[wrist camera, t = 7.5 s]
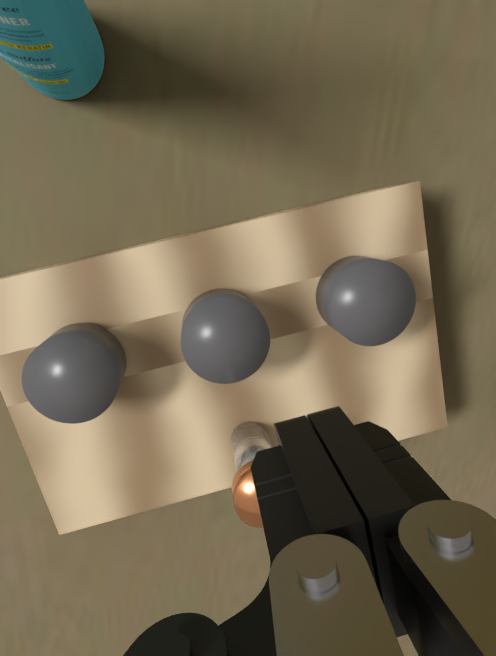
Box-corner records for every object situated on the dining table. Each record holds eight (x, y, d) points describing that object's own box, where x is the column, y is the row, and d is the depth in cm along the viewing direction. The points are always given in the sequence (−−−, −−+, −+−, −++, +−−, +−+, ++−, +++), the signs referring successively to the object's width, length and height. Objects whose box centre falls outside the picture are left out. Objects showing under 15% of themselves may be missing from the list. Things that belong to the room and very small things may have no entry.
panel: (389, 185, 29) (419, 180, 25) (417, 402, 33) (447, 427, 29) (-8, 279, 27) (-41, 289, 23) (75, 496, 31) (59, 534, 27)
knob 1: (122, 301, 28) (101, 326, 21) (142, 367, 29) (129, 410, 22) (50, 319, 28) (7, 350, 21) (74, 384, 29) (40, 433, 22)
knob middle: (243, 272, 28) (259, 287, 22) (258, 338, 30) (278, 371, 23) (174, 288, 28) (170, 309, 22) (192, 354, 29) (193, 393, 23)
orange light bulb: (268, 409, 27) (291, 463, 21) (279, 453, 28) (303, 517, 22) (218, 422, 27) (227, 481, 21) (230, 467, 28) (242, 535, 22)
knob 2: (360, 243, 29) (410, 250, 22) (370, 309, 30) (420, 334, 24) (293, 259, 29) (324, 271, 22) (306, 325, 30) (339, 355, 23)
